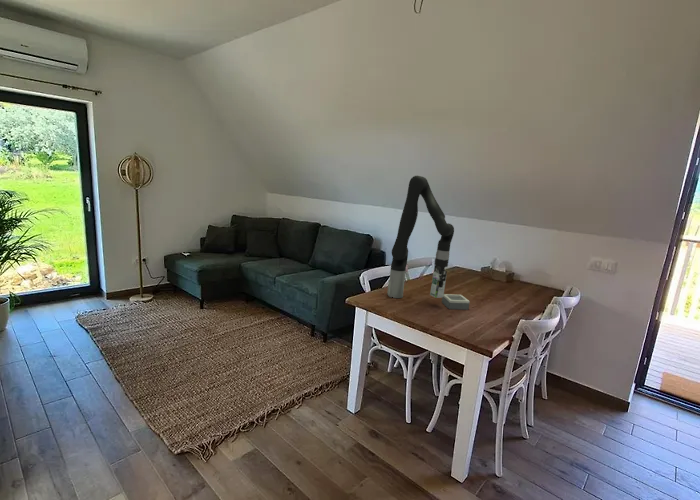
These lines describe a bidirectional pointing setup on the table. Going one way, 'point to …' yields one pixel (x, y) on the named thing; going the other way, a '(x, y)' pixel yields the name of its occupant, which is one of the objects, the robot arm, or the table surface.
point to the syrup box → (437, 286)
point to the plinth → (455, 302)
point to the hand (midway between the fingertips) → (438, 285)
